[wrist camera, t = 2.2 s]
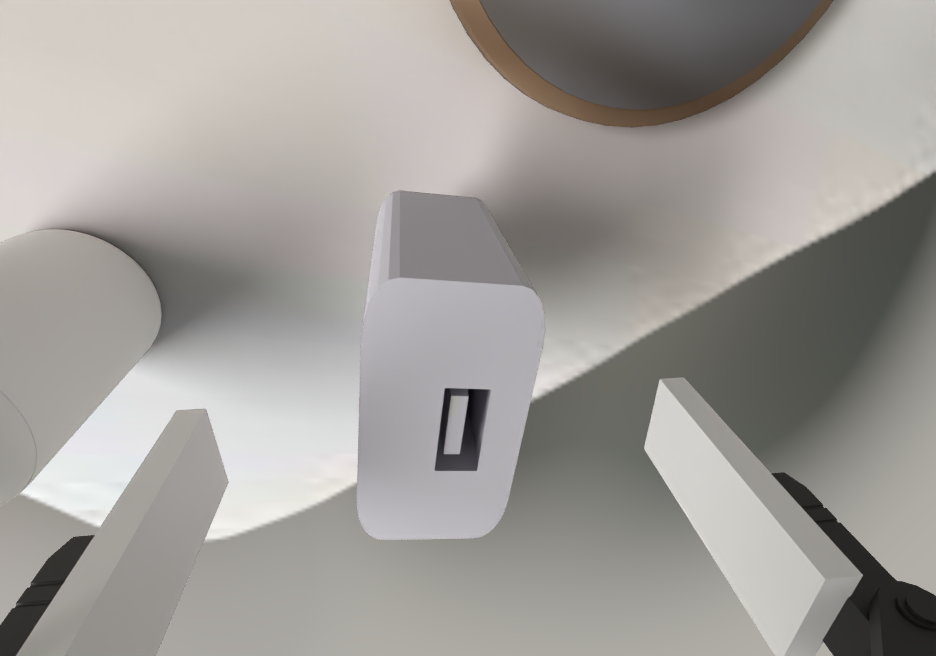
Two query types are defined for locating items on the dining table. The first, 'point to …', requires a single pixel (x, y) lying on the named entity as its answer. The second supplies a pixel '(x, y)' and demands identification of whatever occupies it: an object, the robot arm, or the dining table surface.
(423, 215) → the charger
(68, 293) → the pill bottle
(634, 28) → the round mirror
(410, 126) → the dining table surface
